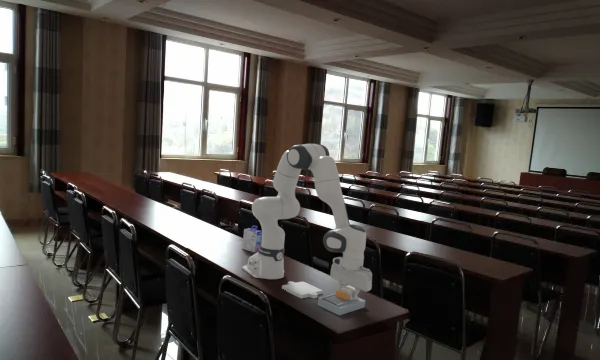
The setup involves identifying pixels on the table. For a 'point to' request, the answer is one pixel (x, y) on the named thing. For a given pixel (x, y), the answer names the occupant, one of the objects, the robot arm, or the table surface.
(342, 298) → the shutter
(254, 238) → the ink cartridge box
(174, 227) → the table surface
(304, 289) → the mounting plate
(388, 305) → the table surface
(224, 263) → the table surface
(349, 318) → the table surface
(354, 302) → the socket
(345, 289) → the white block
